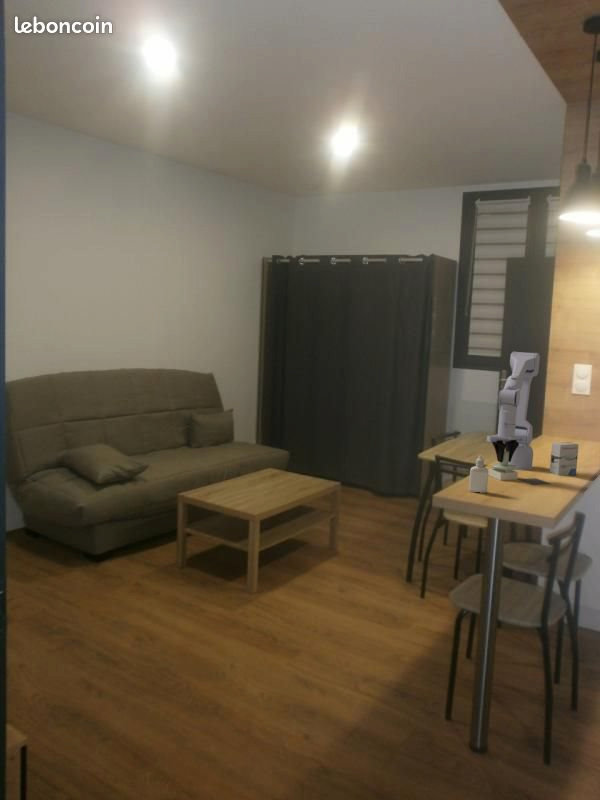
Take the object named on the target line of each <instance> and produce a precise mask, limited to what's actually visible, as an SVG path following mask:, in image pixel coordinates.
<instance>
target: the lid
mask: <svg viewBox="0 0 600 800" xmlns="http://www.w3.org/2000/svg"><path fill="white" fill-rule="evenodd" d="M508 462H509V451H506V450H505V451H504V457H503V462H494V463H492V465H491V466H492V468H496V469H501V470H513V471H516V470H515V469H516V466H515V465H512V464H508Z"/></svg>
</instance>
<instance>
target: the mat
mask: <svg viewBox="0 0 600 800" xmlns="http://www.w3.org/2000/svg"><path fill="white" fill-rule="evenodd" d="M517 480H519V481H520V482H524V483H526V484H528V485H531V486H539V485H540V486H541V485H552V483H550V482H547V481H545V480H543V479H541V478H540V479H539V478H537V477H536V478H535V477H534V478H517Z"/></svg>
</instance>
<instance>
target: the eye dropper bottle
mask: <svg viewBox="0 0 600 800" xmlns="http://www.w3.org/2000/svg"><path fill="white" fill-rule="evenodd" d="M469 470H470V471H469V472H470V473H469V480H468V481H469V482H468V483H469V484H468V491H469V492H470V493H474V492H480V493H479V494H486V493H487V492H488V482H489V481H488V480H489V476H488V475H489V468H487V467H485V459H483V455H482V454H481V455H480V454H479V455H478V457H477V459H476V460H475V465H474V466H472V467H471V468H470V469H469Z"/></svg>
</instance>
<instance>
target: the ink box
mask: <svg viewBox="0 0 600 800" xmlns="http://www.w3.org/2000/svg"><path fill="white" fill-rule="evenodd" d="M579 446H580V445H579V444H578V443H574V442H571V441H569V442H568V441H566V442H552V443H551V454H550V465H549V474H553V475H556V476H577V470H578V469H577V468H578V466H577V465H578V459H579V458H578V455H579Z"/></svg>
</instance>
